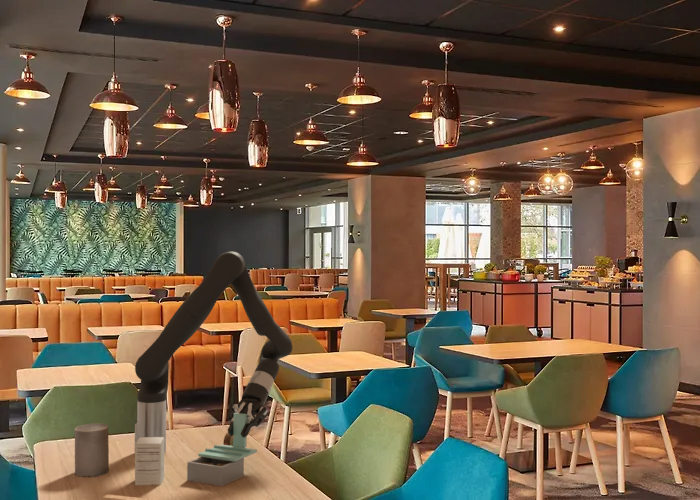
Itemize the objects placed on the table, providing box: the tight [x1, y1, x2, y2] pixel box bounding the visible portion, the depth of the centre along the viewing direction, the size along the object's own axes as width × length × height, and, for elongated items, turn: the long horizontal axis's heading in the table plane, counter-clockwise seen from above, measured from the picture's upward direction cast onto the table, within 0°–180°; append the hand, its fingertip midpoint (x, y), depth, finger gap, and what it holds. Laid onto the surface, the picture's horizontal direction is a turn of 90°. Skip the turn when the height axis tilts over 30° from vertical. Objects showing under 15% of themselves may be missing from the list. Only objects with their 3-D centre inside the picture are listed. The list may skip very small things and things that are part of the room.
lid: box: [197, 412, 258, 462], centre depth 229 cm, size 13×13×11 cm
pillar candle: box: [74, 422, 110, 477], centre depth 230 cm, size 10×10×15 cm
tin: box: [222, 432, 233, 446], centre depth 251 cm, size 15×3×8 cm, turn 168°
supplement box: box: [134, 437, 165, 486], centre depth 219 cm, size 7×7×13 cm
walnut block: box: [217, 461, 231, 466], centre depth 223 cm, size 4×4×4 cm
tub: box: [186, 456, 245, 487], centre depth 223 cm, size 12×11×6 cm
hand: (236, 435), depth 232 cm, fingers closed on lid, 4 cm apart
